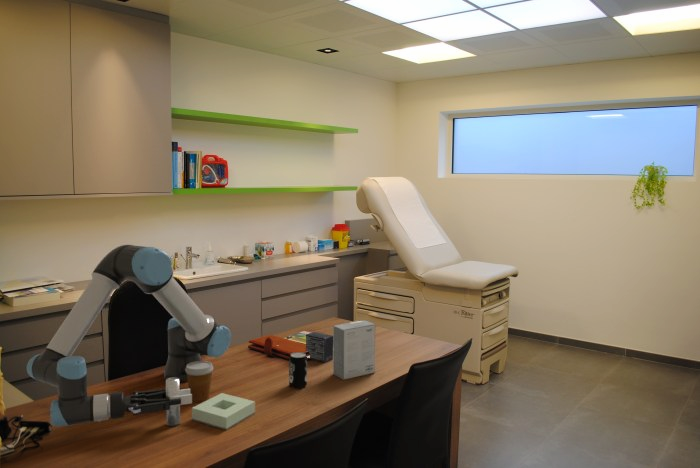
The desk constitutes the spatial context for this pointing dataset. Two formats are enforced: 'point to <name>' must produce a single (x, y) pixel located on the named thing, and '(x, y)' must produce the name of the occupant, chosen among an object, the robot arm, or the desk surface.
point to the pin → (171, 390)
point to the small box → (319, 346)
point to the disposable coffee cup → (199, 379)
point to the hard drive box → (353, 349)
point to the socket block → (223, 411)
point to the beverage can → (298, 370)
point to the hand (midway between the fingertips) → (190, 395)
